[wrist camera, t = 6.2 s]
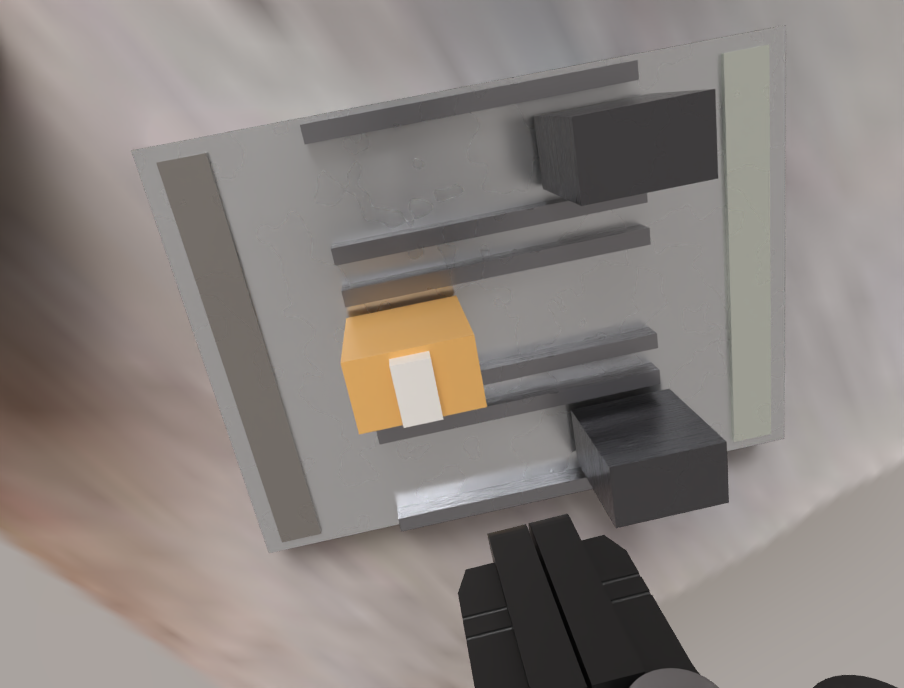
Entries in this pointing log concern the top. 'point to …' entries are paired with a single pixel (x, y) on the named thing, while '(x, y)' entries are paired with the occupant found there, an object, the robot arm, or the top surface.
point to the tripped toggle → (411, 365)
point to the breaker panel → (498, 286)
